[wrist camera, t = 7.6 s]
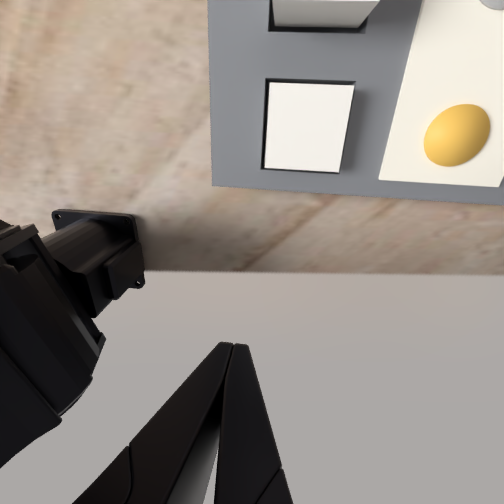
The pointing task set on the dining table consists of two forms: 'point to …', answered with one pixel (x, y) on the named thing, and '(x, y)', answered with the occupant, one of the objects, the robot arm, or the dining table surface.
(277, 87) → the button
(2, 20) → the dining table surface
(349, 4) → the middle button
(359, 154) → the button panel
